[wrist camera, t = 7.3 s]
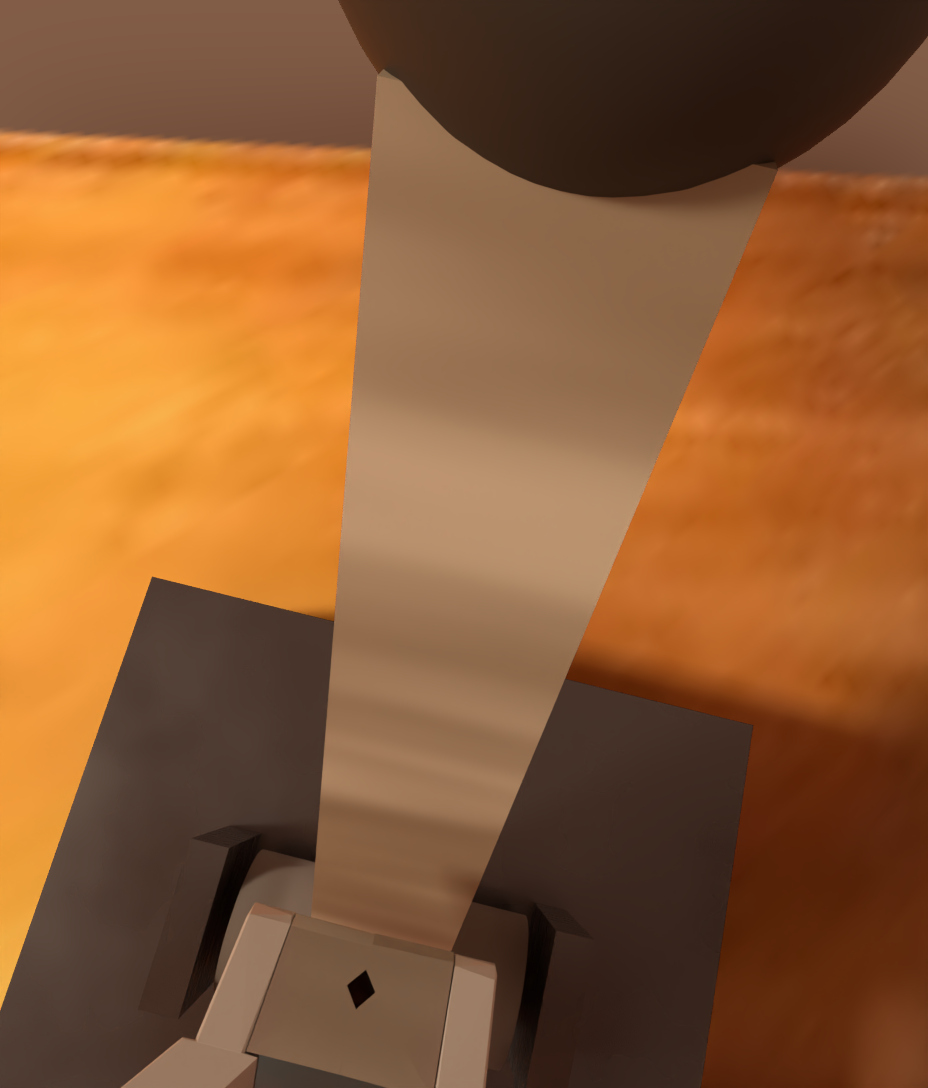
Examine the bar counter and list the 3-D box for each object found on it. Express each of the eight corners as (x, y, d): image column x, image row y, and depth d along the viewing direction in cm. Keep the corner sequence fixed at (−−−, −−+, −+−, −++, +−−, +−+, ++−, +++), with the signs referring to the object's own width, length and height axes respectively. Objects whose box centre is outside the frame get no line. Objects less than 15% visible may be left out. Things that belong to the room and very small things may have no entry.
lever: (484, 1114, 17) (2138, -923, 2) (207, 1043, 17) (-300, -1425, 2) (510, 922, 20) (1255, -504, 5) (273, 863, 20) (266, -721, 5)
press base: (600, 1224, 23) (713, 1522, 14) (57, 1084, 24) (-174, 1288, 14) (682, 732, 27) (813, 719, 18) (210, 615, 27) (102, 543, 18)
